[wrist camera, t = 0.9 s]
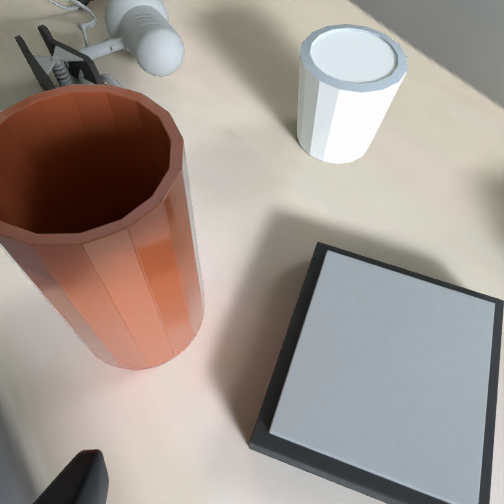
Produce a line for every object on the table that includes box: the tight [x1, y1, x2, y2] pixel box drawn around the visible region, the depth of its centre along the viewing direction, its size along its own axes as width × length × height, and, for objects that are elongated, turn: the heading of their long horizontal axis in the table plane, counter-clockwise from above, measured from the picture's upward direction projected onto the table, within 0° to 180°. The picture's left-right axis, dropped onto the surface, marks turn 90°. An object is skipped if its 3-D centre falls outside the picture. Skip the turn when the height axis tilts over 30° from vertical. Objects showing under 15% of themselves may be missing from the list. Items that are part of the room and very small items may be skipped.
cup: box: [0, 84, 204, 370], centre depth 21 cm, size 7×7×13 cm
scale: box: [249, 242, 504, 504], centre depth 24 cm, size 12×11×2 cm
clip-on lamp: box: [14, 0, 184, 91], centre depth 36 cm, size 12×6×18 cm
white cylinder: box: [297, 24, 407, 164], centre depth 31 cm, size 7×7×7 cm
